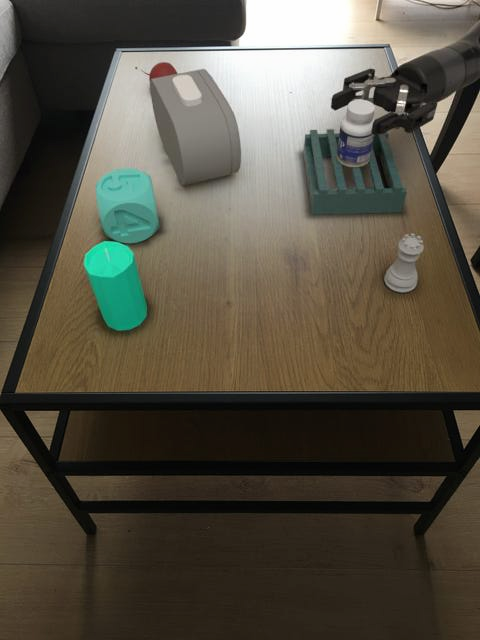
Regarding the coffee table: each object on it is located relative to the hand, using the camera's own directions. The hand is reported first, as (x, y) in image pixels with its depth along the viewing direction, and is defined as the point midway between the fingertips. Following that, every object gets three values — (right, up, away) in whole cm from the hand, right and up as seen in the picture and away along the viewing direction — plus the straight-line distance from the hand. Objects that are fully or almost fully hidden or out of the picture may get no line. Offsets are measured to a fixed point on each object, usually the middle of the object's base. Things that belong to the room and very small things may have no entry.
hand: (352, 115), depth 79 cm
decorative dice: (-33, -15, +5) cm, 37 cm away
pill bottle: (+1, -4, +7) cm, 8 cm away
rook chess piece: (+6, -25, -4) cm, 26 cm away
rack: (+2, -7, +10) cm, 13 cm away
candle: (-32, -29, -6) cm, 44 cm away
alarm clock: (-24, -2, +15) cm, 29 cm away
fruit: (-33, +16, +30) cm, 47 cm away
